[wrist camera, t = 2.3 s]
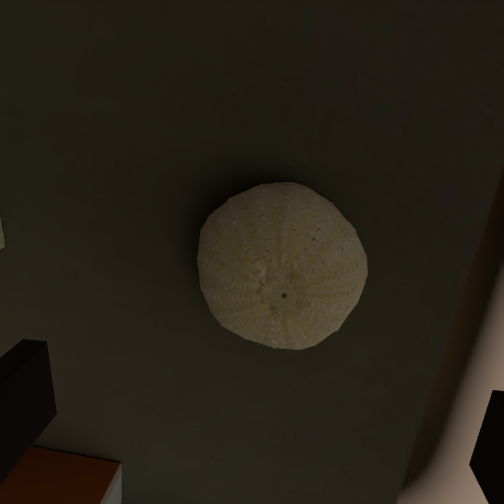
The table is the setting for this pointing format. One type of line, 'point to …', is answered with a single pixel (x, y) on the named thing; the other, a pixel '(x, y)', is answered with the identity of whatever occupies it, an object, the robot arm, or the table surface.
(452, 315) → the table surface
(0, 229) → the tray
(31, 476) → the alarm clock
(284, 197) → the sea urchin shell
